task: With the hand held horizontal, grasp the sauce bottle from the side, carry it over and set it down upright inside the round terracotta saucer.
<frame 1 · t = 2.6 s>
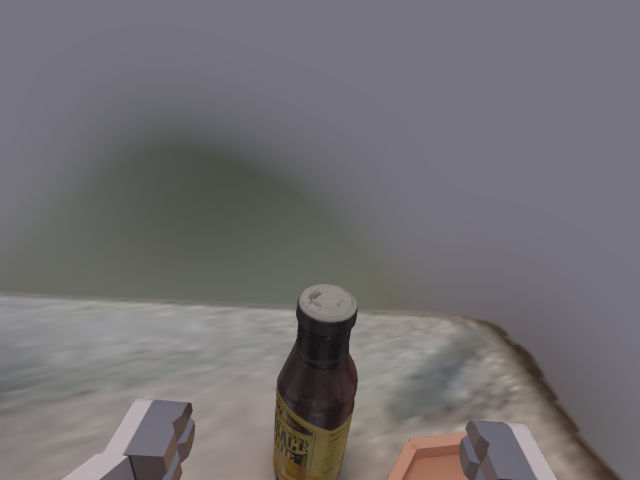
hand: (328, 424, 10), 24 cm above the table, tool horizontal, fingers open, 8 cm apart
sauce bottle: (307, 472, 32), on the table
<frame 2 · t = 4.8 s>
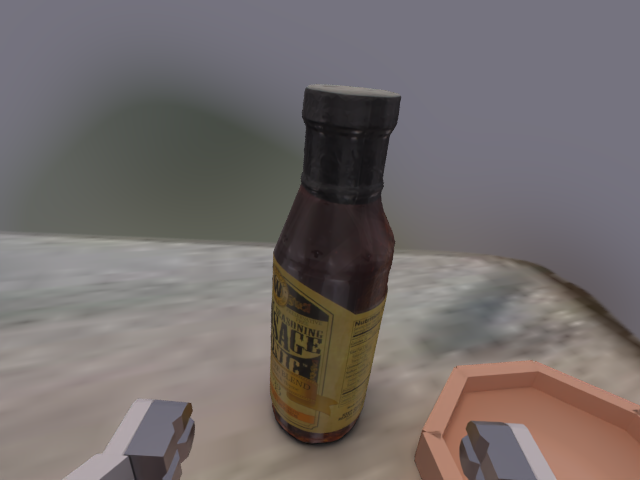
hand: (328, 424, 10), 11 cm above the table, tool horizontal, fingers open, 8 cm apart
sauce bottle: (317, 410, 23), on the table
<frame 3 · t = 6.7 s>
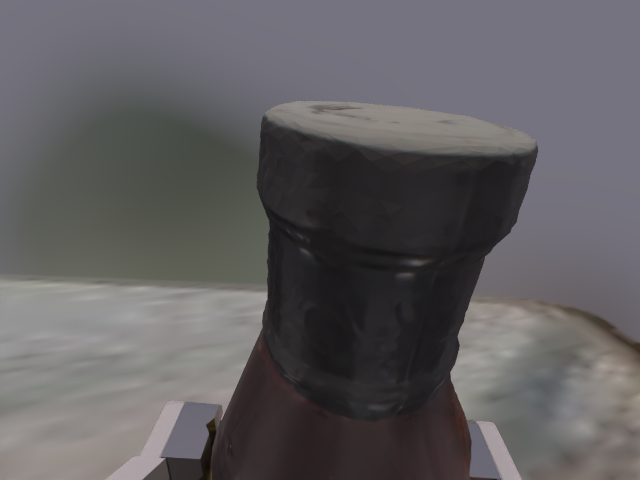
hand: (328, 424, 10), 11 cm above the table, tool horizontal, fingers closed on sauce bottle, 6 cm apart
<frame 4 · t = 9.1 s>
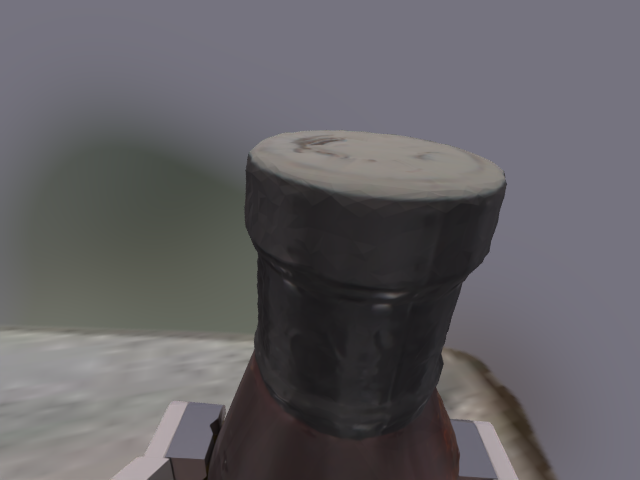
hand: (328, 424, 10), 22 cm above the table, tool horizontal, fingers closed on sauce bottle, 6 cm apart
when the fingers open (14 cm above the table, at t = 11.5 s): sauce bottle stays where it is, resting on terracotta saucer.
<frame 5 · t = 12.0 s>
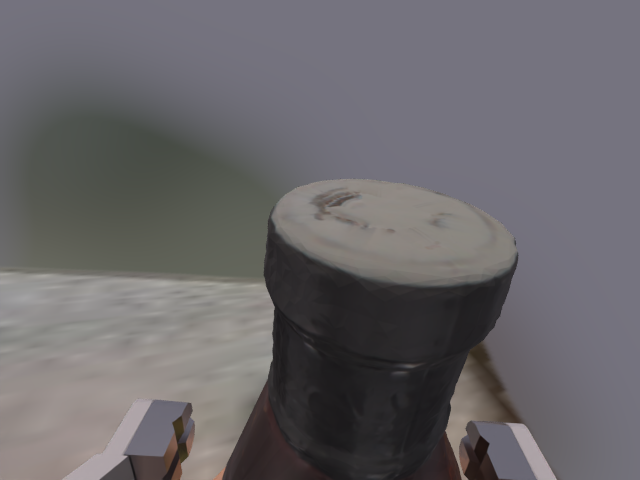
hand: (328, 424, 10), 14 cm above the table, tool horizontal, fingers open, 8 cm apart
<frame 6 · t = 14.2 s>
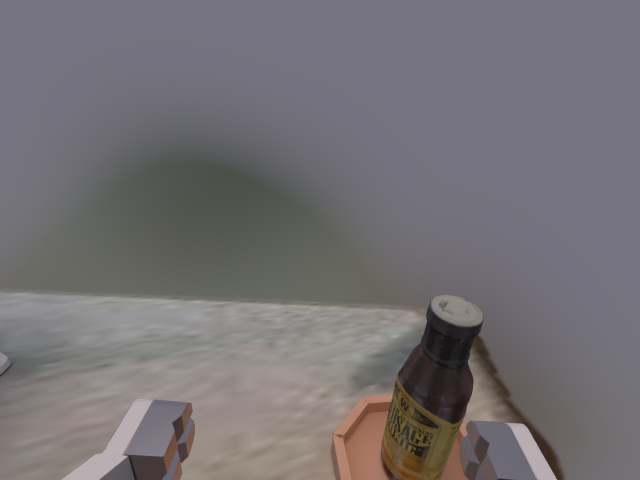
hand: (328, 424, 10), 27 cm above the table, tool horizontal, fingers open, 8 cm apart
sauce bottle: (410, 468, 35), point 1 cm above the table, touching terracotta saucer
terracotta saucer: (407, 471, 36), on the table
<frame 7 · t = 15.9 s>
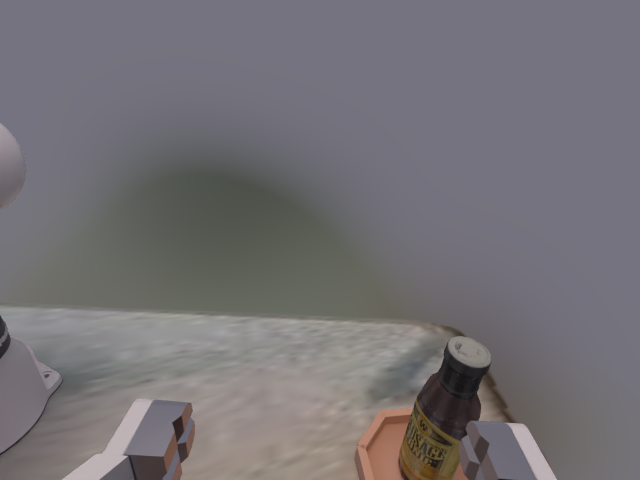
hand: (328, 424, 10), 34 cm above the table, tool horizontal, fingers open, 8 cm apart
sauce bottle: (423, 474, 41), point 1 cm above the table, touching terracotta saucer
terracotta saucer: (420, 476, 42), on the table
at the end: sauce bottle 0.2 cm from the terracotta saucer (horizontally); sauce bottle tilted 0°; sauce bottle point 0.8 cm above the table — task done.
